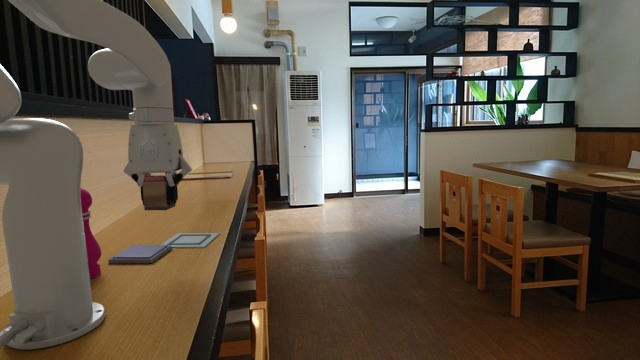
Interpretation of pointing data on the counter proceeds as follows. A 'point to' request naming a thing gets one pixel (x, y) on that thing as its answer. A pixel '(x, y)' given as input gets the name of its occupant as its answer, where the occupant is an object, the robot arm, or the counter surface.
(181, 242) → the light grey flat square
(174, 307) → the counter surface
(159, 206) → the stamp
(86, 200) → the pepper mill
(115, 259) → the ink pad
